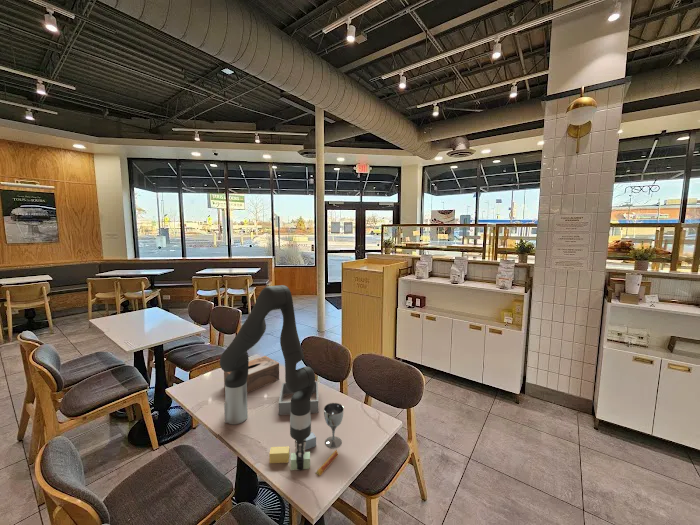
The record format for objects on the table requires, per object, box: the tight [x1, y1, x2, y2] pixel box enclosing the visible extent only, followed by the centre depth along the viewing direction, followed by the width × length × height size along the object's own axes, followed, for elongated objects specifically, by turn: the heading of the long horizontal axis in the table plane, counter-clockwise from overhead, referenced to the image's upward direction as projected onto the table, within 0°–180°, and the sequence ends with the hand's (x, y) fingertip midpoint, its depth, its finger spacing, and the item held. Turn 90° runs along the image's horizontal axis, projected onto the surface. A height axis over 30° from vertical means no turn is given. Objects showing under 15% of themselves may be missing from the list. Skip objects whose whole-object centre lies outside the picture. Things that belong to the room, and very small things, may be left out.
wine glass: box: [323, 402, 345, 450], centre depth 124 cm, size 8×8×15 cm
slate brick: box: [305, 431, 317, 451], centre depth 122 cm, size 7×4×4 cm, turn 120°
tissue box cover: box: [223, 355, 280, 394], centre depth 170 cm, size 26×14×10 cm, turn 138°
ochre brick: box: [268, 445, 291, 464], centre depth 115 cm, size 7×4×4 cm, turn 94°
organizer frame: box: [278, 380, 319, 416], centre depth 152 cm, size 19×19×6 cm
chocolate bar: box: [315, 449, 339, 477], centre depth 113 cm, size 3×12×2 cm, turn 149°
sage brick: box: [290, 451, 311, 471], centre depth 112 cm, size 7×4×4 cm, turn 97°
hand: (300, 464), depth 112 cm, fingers closed on sage brick, 3 cm apart
